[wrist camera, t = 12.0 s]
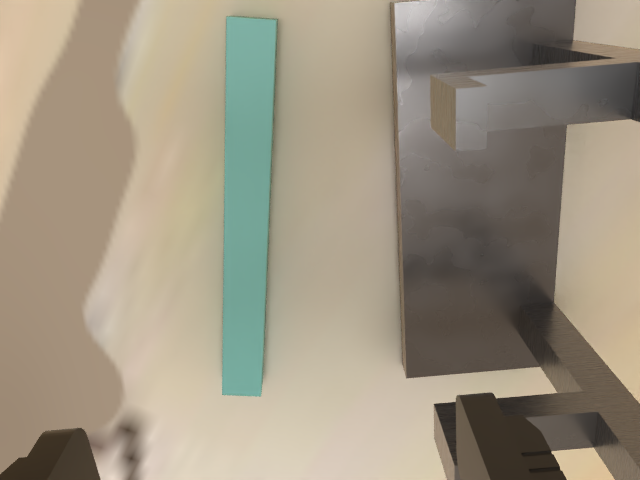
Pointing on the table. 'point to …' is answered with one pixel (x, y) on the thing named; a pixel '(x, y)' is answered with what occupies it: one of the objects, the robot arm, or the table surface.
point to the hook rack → (501, 208)
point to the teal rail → (247, 198)
